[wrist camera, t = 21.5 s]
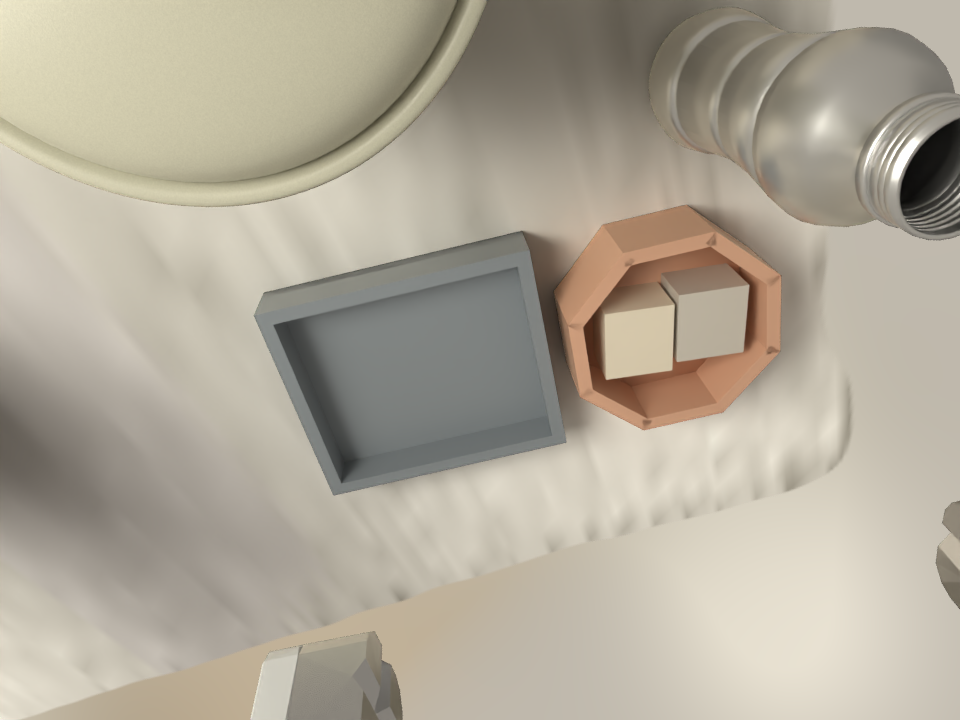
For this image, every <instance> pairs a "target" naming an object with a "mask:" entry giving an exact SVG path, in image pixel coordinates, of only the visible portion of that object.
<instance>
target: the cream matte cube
mask: <svg viewBox="0 0 960 720" xmlns="http://www.w3.org/2000/svg"><path fill="white" fill-rule="evenodd" d="M661 287H662V289H663V290H664V291H665V293H666V294H667V295H668V297H669V298H670V299H671V300H672V302H673V303H674V304H675V308H674V335H673V357H674V358H675V360H676V361H677V362H681V361H688V360H695V359H701V358H708V357H714V356H721V355H728V354H734V353H741V352H743V351H744V340H745V329H746V317H747V306H748V294H749V284H748V283H747V282H746V281H745V280H744V279H743V278H742V277H741V276H740V275H739V274H737V273H736V272H735V271H734V270H733V269H732V268H731V267H730V266H729V265H728V264H727V263H725V264H718V265H711V266H705V267H698V268H691V269H685V270H678V271H672V272H665V273H661Z"/></svg>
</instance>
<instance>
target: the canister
mask: <svg viewBox="0 0 960 720" xmlns="http://www.w3.org/2000/svg"><path fill="white" fill-rule="evenodd" d="M486 3H487V0H0V143H2V144H4V145H5V146H7V147H9V148H10V149H12V150H14V151H16V152H17V153H19V154H21V155H23V156H25V157H27V158H28V159H30V160H32V161H34V162H36V163H38V164H40V165H42V166H44V167H46V168H49V169H51V170H53V171H55V172H57V173H60V174H62V175H64V176H67V177H69V178H71V179H74V180H77V181H79V182H82V183H84V184H87V185H90V186H93V187H96V188H99V189H102V190H105V191H108V192H112V193H116V194H119V195H123V196H127V197H131V198H136V199H140V200H145V201H151V202H156V203H163V204H171V205H180V206H194V207H224V206H239V205H248V204H255V203H261V202H267V201H272V200H276V199H280V198H284V197H288V196H292V195H295V194H298V193H301V192H304V191H307V190H310V189H313V188H315V187H318V186H320V185H323V184H325V183H327V182H329V181H332V180H334V179H336V178H338V177H340V176H342V175H344V174H346V173H347V172H349V171H351V170H353V169H354V168H356V167H358V166H359V165H361V164H363V163H364V162H366V161H367V160H369V159H370V158H372V157H373V156H374V155H376V154H377V153H379V152H380V151H381V150H382V149H384V148H385V147H386V146H388V145H389V144H390V143H391V142H392V141H394V140H395V139H396V138H397V137H398V136H399V135H400V134H401V133H403V132H404V131H405V130H406V129H407V128H408V127H409V126H410V125H411V124H412V123H413V122H414V121H415V120H416V119H417V118H418V116H419V115H420V114H421V113H422V112H423V111H424V110H425V109H426V107H427V106H428V105H429V104H430V103H431V101H432V100H433V99H434V98H435V96H436V95H437V94H438V92H439V91H440V90H441V88H442V87H443V86H444V84H445V83H446V81H447V80H448V78H449V77H450V75H451V74H452V72H453V70H454V69H455V67H456V66H457V64H458V62H459V61H460V59H461V57H462V55H463V54H464V52H465V50H466V48H467V46H468V44H469V42H470V40H471V38H472V36H473V34H474V32H475V30H476V27H477V25H478V23H479V21H480V18H481V16H482V13H483V11H484V8H485V6H486Z"/></svg>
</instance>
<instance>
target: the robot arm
mask: <svg viewBox="0 0 960 720" xmlns="http://www.w3.org/2000/svg"><path fill="white" fill-rule="evenodd" d="M942 523H943V525H944V526H945V527H946V528H947V529H948V530H949V531H950V532H951V533H950V534H949V535H948V536H947V537H946V538H945V539H944V540H943V541H942V542H941V543H940V544H939V545H938V549H937V558H936V565H937V569H938V572H939V575H940V579H941V582H942V584H943V586H944V588H945V589H946V591H947V593H948V595H949V596H950V598H951V599H952V600H953V601H954V603H955V604H956V605H957V606H958V608H959V609H960V501H957V502H953V503H951V504H950V505H949V506H948V507H947V508H946V509H945V513H944V517H943V522H942ZM381 659H382V645H381V643H380V641H379V639H378V637H377V635H376V633H375V632H367V633H362V634H357V635H352V636H346V637H341V638H336V639H331V640H325V641H320V642H315V643H310V644H304V645H300V646H295V647H290V648H285V649H281V650H276V651H271V652H269V653H268V655H267V657H266V659H265V661H264V663H263V664H262V669H261V673H260V678H259V682H258V687H257V691H256V696H255V701H254V705H253V710H252V714H251V719H250V720H402V705H401V696H400V689H399V686H398V682H397V678H396V675H395V673H394V671H393V668H392V666H391V665H390V664H388V663H386V662H384V661H382V660H381Z"/></svg>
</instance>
